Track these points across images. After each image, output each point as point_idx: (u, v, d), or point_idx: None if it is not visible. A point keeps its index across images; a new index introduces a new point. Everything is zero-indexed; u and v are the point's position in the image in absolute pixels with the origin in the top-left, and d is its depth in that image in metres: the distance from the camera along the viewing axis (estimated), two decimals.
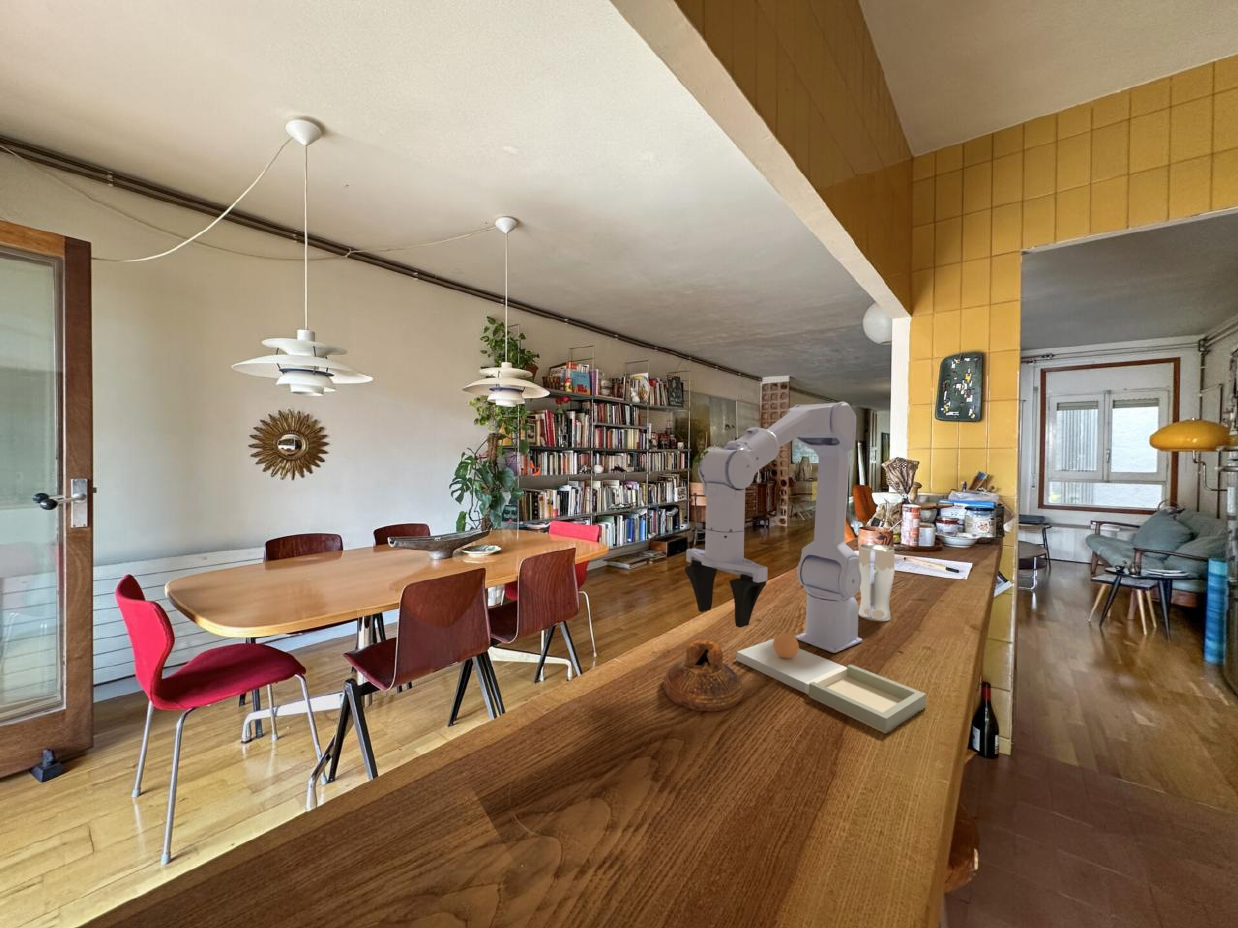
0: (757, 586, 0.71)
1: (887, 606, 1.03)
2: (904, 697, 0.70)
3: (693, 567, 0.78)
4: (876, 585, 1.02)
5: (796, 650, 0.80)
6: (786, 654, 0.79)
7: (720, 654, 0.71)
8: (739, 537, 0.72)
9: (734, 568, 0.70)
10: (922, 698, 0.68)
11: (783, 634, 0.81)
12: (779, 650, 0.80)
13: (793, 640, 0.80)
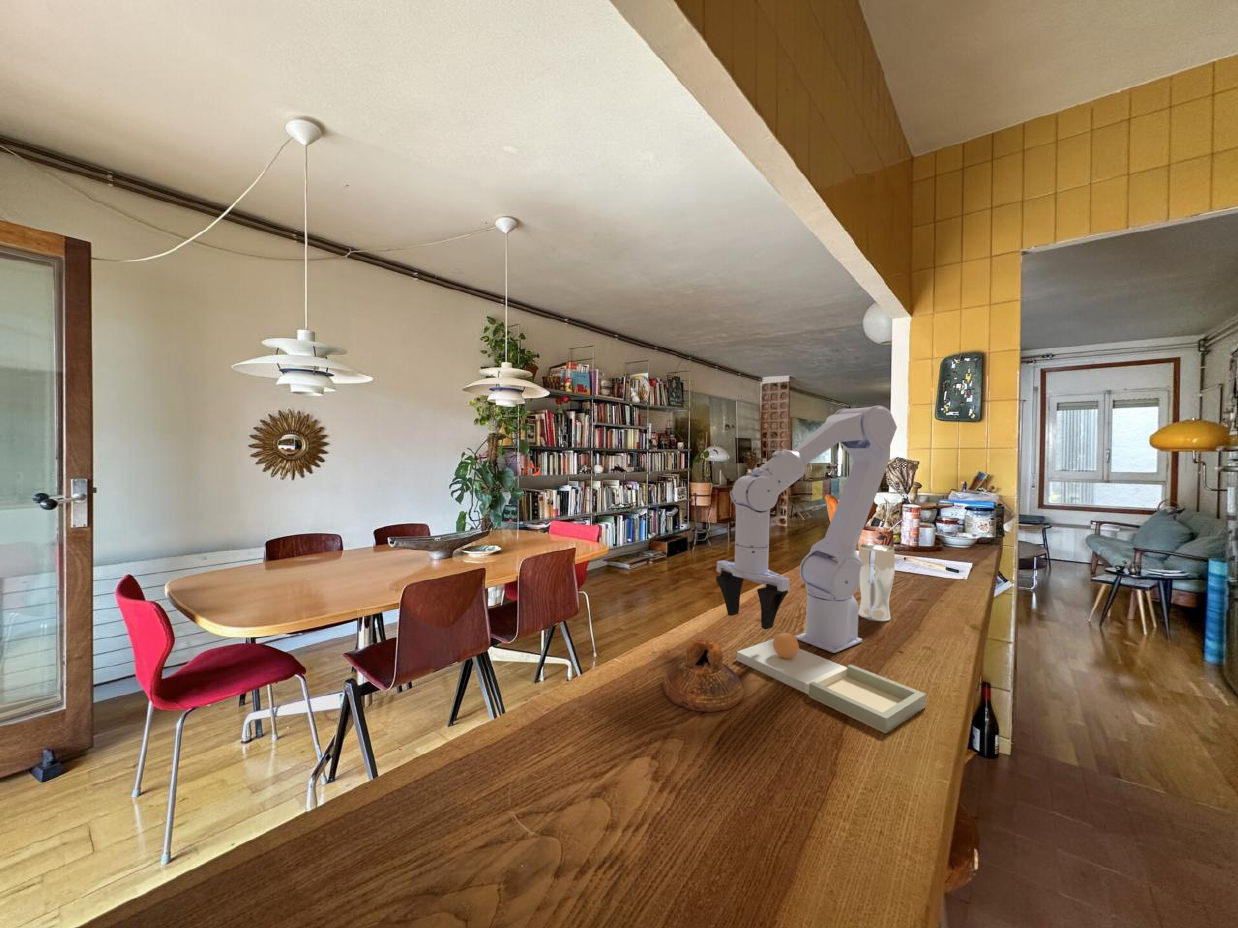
0: (780, 594, 0.83)
1: (887, 606, 1.03)
2: (904, 697, 0.70)
3: (723, 577, 0.90)
4: (876, 585, 1.02)
5: (796, 650, 0.80)
6: (786, 654, 0.79)
7: (720, 654, 0.71)
8: (765, 552, 0.84)
9: (761, 579, 0.83)
10: (922, 698, 0.68)
11: (783, 634, 0.81)
12: (779, 650, 0.80)
13: (793, 640, 0.80)
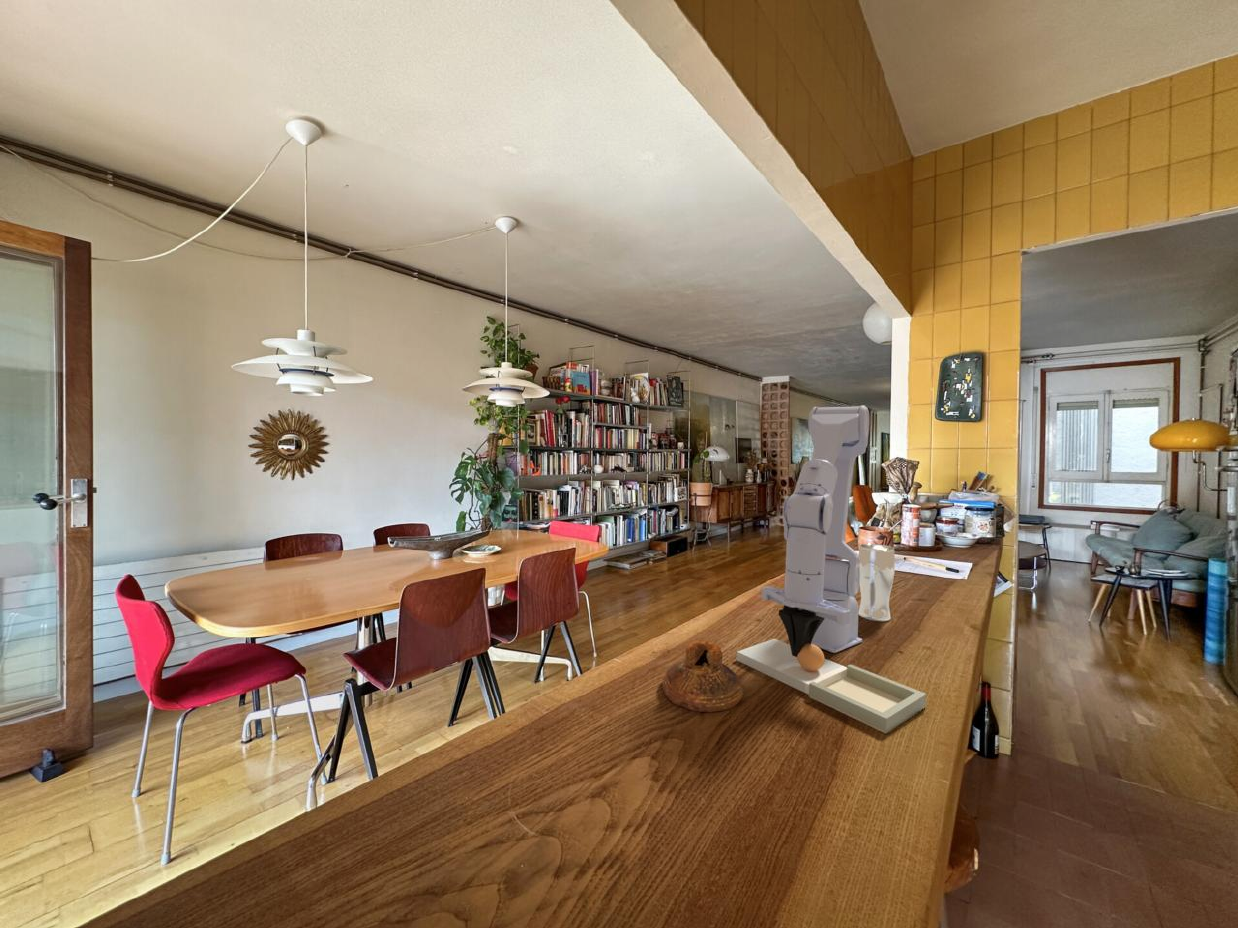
0: (816, 620, 0.77)
1: (887, 606, 1.03)
2: (904, 697, 0.70)
3: (787, 611, 0.78)
4: (876, 585, 1.02)
5: None
6: None
7: (719, 654, 0.71)
8: (820, 579, 0.75)
9: (817, 610, 0.74)
10: (922, 698, 0.68)
11: (813, 669, 0.76)
12: (799, 656, 0.77)
13: None
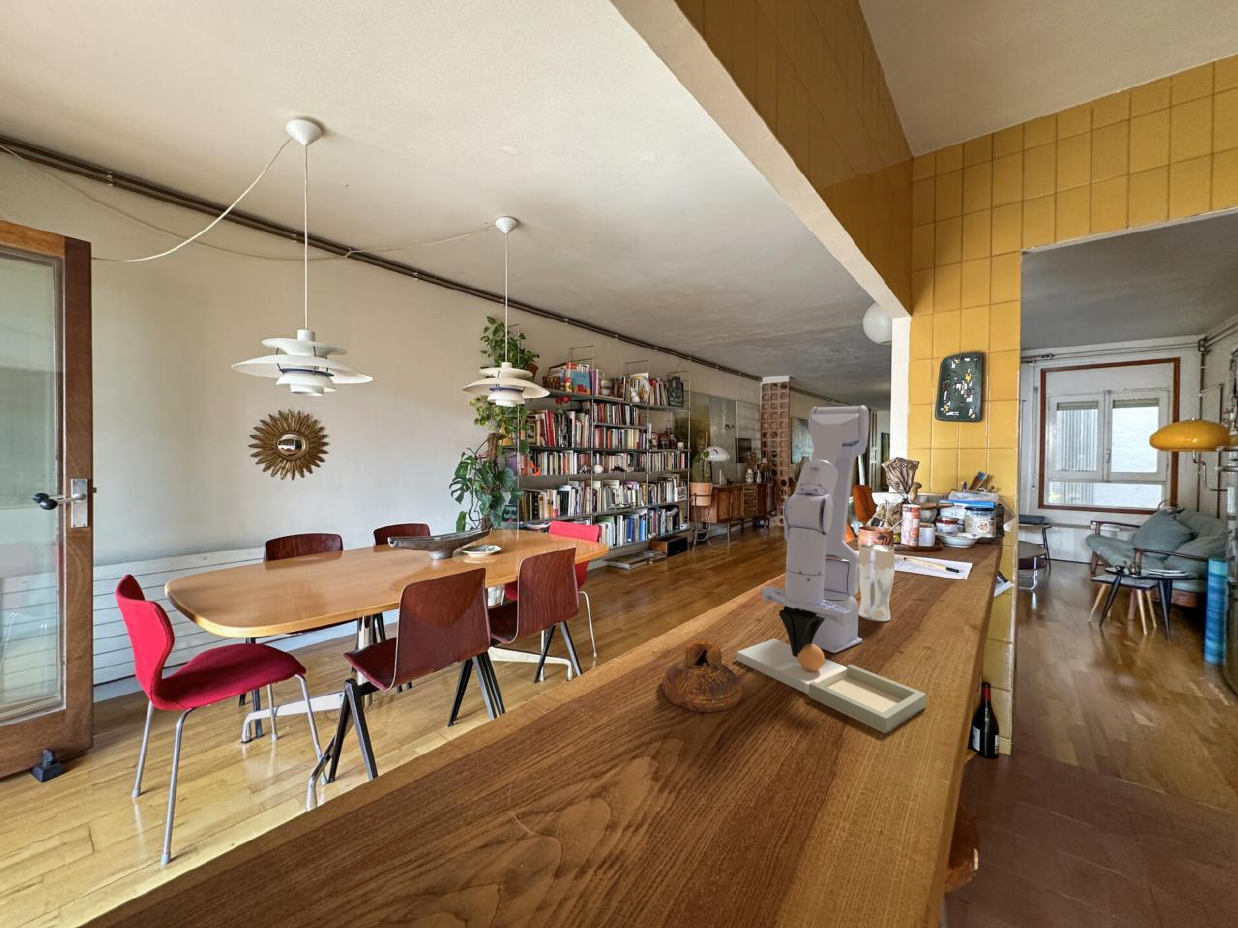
0: (817, 621, 0.77)
1: (887, 606, 1.03)
2: (904, 697, 0.70)
3: (788, 611, 0.78)
4: (876, 585, 1.02)
5: None
6: None
7: (719, 654, 0.71)
8: (821, 580, 0.75)
9: (817, 610, 0.74)
10: (922, 698, 0.68)
11: (813, 669, 0.76)
12: (799, 656, 0.77)
13: None
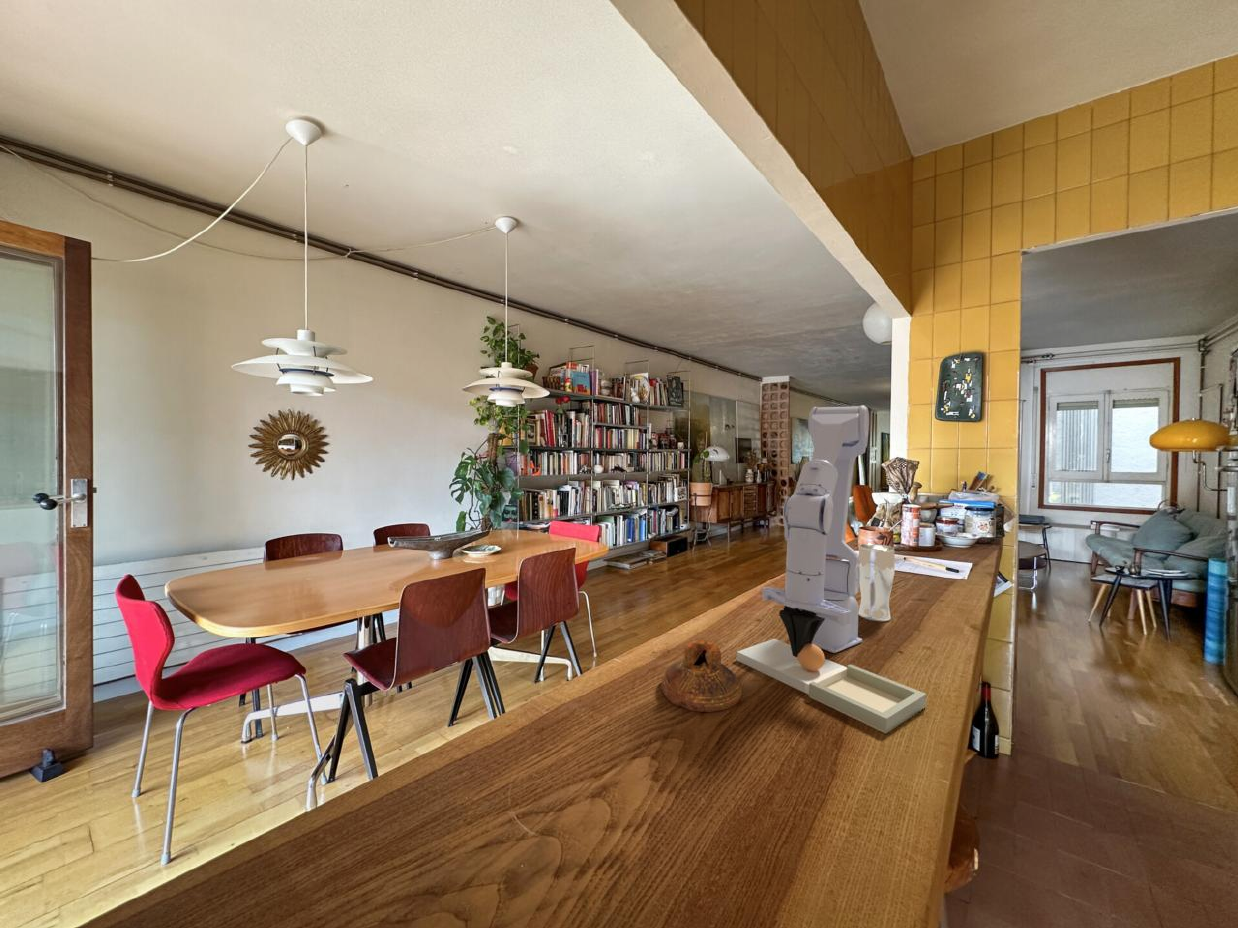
0: (817, 621, 0.77)
1: (887, 606, 1.03)
2: (904, 697, 0.70)
3: (788, 611, 0.78)
4: (876, 585, 1.02)
5: None
6: None
7: (718, 654, 0.71)
8: (821, 580, 0.75)
9: (817, 610, 0.74)
10: (922, 698, 0.68)
11: (813, 669, 0.76)
12: (799, 656, 0.77)
13: None
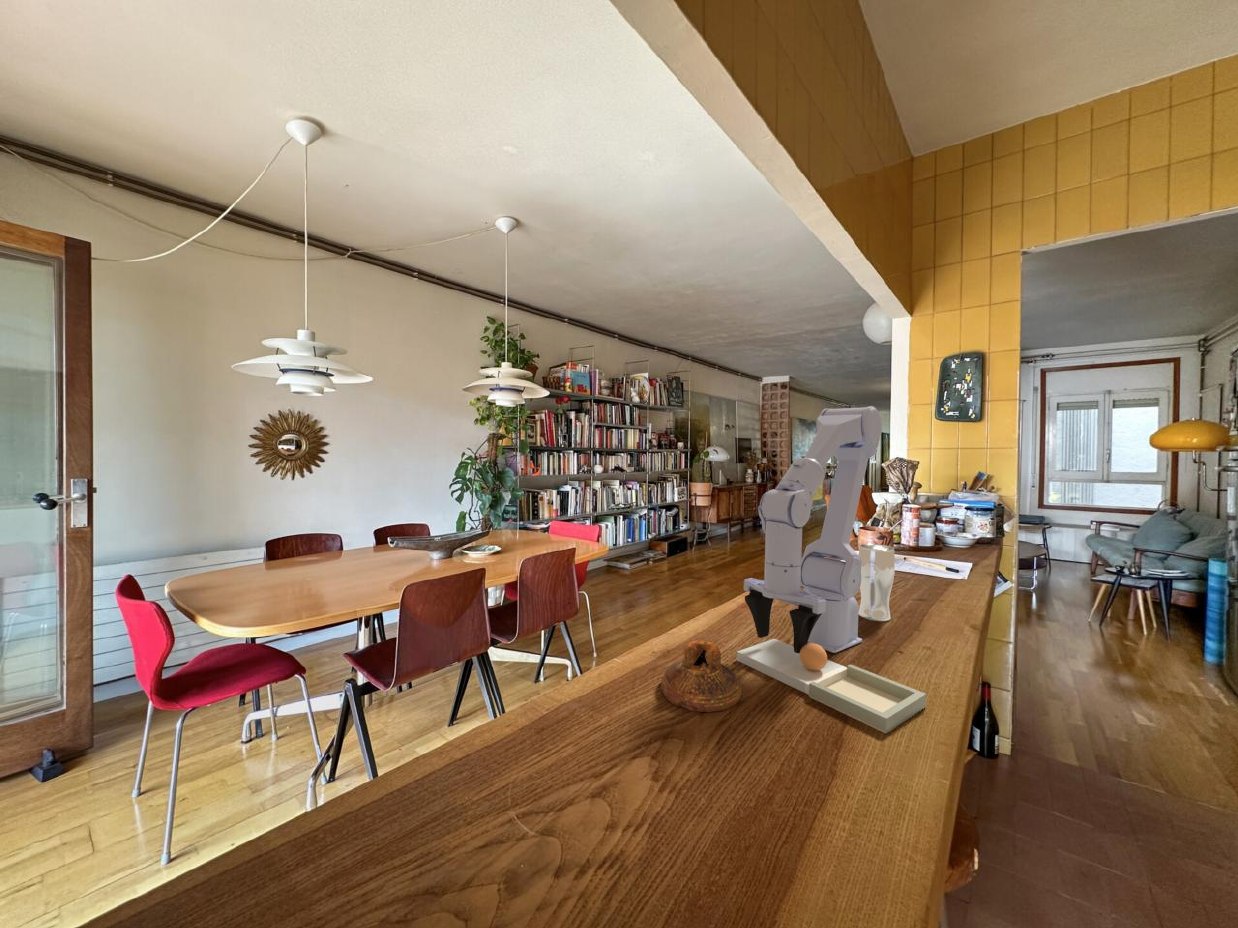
0: (814, 616, 0.78)
1: (887, 606, 1.03)
2: (904, 697, 0.70)
3: (752, 596, 0.85)
4: (876, 585, 1.02)
5: None
6: None
7: (718, 654, 0.71)
8: (797, 571, 0.79)
9: (794, 600, 0.77)
10: (922, 698, 0.68)
11: (815, 668, 0.76)
12: (802, 653, 0.77)
13: None
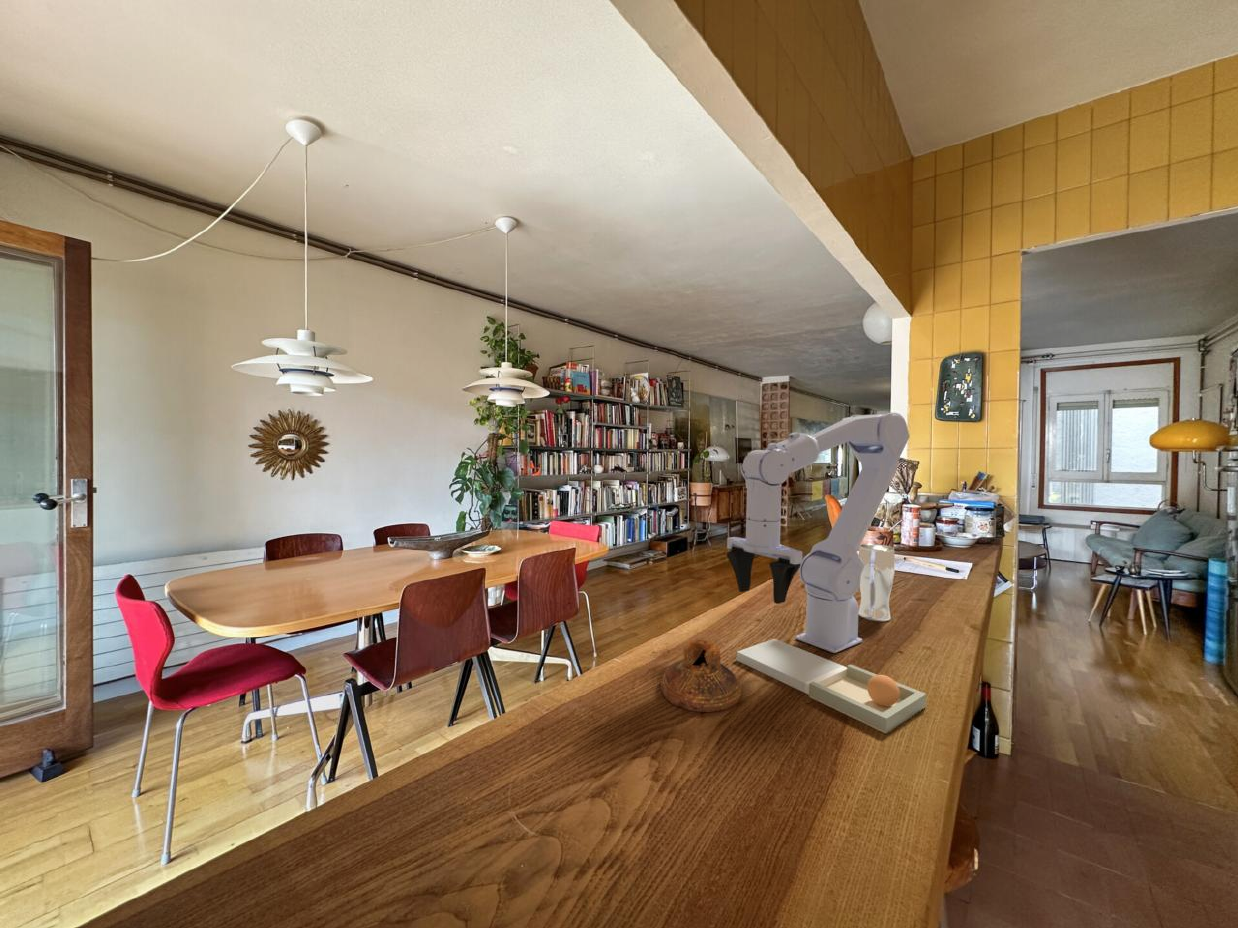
0: (793, 568, 0.82)
1: (887, 606, 1.03)
2: (904, 697, 0.70)
3: (734, 553, 0.89)
4: (876, 585, 1.02)
5: None
6: None
7: (717, 654, 0.71)
8: (776, 525, 0.83)
9: (773, 552, 0.82)
10: (922, 698, 0.68)
11: (890, 695, 0.67)
12: (869, 690, 0.69)
13: (888, 705, 0.68)
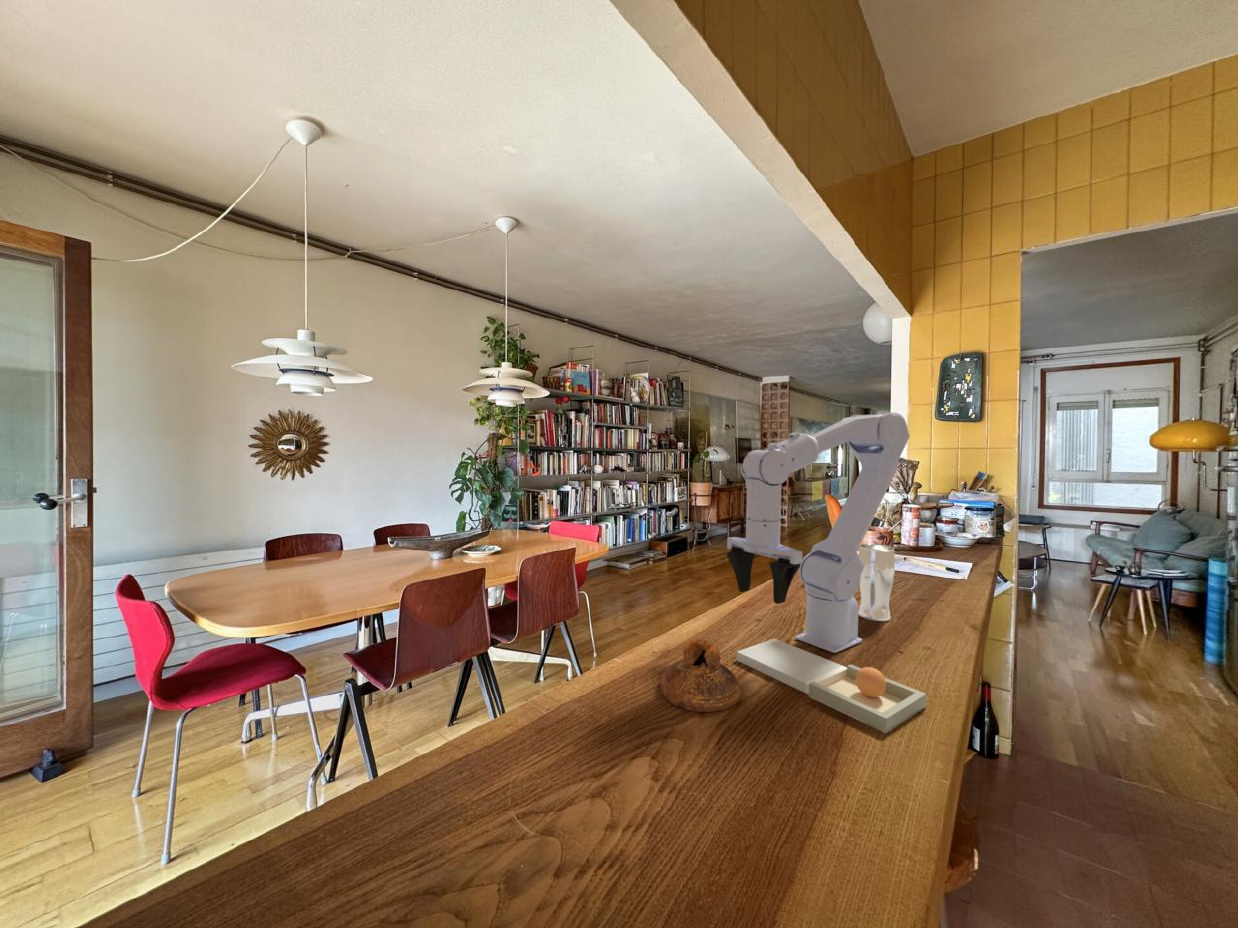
0: (793, 568, 0.82)
1: (887, 606, 1.03)
2: (904, 697, 0.70)
3: (734, 553, 0.89)
4: (876, 585, 1.02)
5: (878, 693, 0.70)
6: (865, 693, 0.70)
7: (717, 654, 0.71)
8: (776, 525, 0.83)
9: (773, 552, 0.82)
10: (922, 698, 0.68)
11: (870, 671, 0.71)
12: (858, 685, 0.71)
13: (878, 683, 0.70)
